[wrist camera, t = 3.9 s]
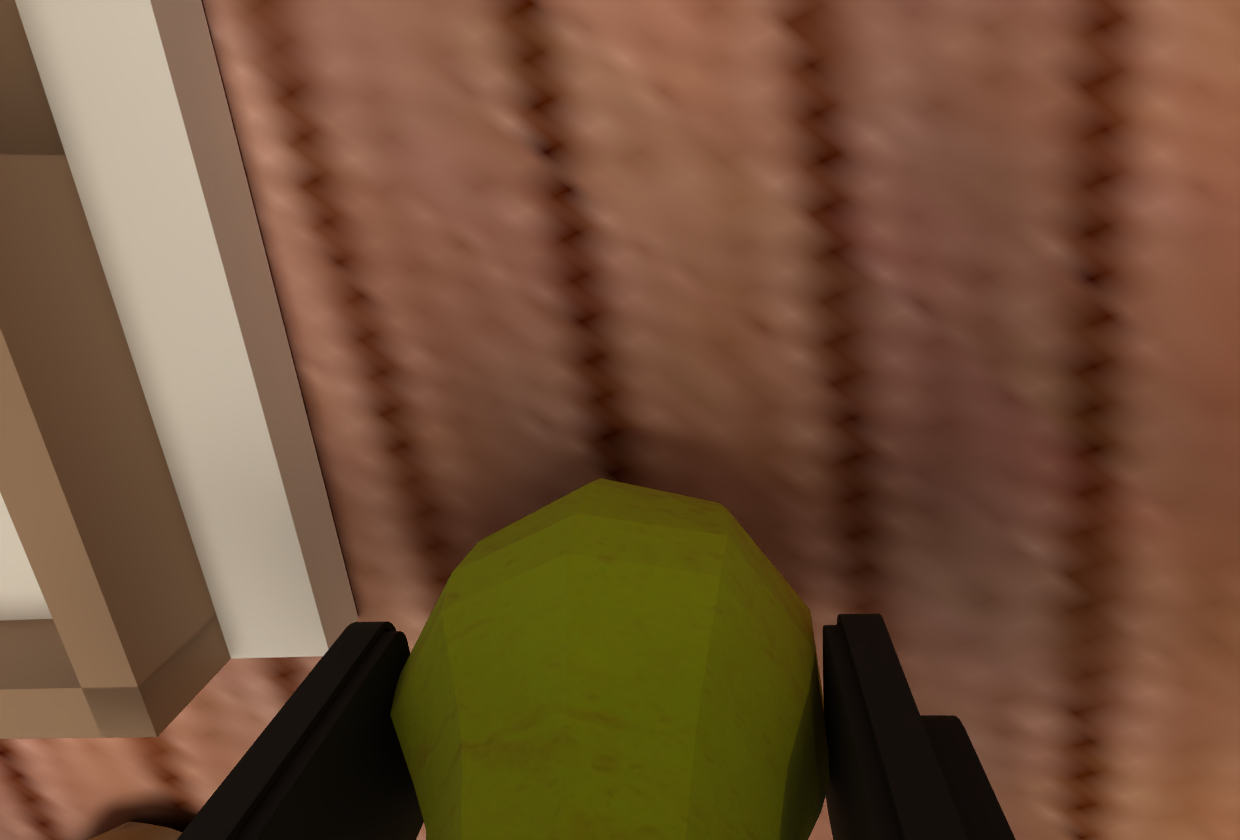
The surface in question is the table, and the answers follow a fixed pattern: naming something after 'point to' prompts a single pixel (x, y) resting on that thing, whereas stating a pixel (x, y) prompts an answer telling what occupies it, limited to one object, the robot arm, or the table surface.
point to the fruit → (616, 681)
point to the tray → (141, 385)
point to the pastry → (139, 832)
